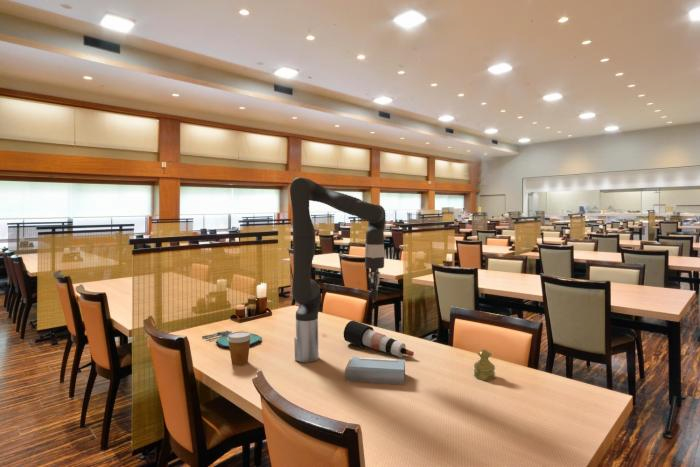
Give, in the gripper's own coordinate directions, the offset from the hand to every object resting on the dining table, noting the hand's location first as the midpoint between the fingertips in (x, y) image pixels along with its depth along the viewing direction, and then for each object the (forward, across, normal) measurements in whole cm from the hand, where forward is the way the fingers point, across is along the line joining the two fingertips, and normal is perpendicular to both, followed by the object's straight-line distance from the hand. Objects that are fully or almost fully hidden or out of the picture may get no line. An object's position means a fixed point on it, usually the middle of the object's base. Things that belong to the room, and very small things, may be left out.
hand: (374, 299), depth 157 cm
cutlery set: (+29, -19, -71) cm, 79 cm away
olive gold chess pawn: (+26, +3, +42) cm, 49 cm away
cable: (+27, -18, 0) cm, 33 cm away
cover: (+22, +11, +3) cm, 25 cm away
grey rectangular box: (+27, +11, +3) cm, 29 cm away
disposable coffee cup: (+28, +7, -54) cm, 61 cm away
